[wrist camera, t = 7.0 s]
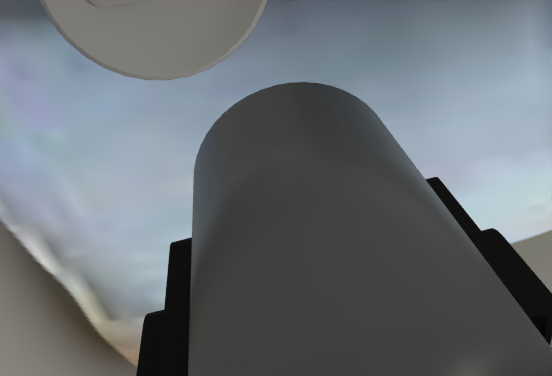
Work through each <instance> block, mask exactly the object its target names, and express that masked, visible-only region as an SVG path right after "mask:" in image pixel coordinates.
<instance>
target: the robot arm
mask: <svg viewBox="0 0 552 376" xmlns="http://www.w3.org/2000/svg"><path fill="white" fill-rule="evenodd" d="M425 180H426V181H427V182H428V184H429V185H430V186H431V188H432V189H433V190H434V192H435V193H436V194H437V196H438V197H439V198H440V200H441V201H442V202H443V204H444V205H445V206H446V208H447V209H448V210H449V212H450V213H451V215H452V216H453V217H454V219H455V220H456V221H457V223H458V224H459V225H460V227H461V228H462V229H463V231H464V232H465V233H466V235H467V236H468V237H469V239H470V240H471V241H472V243H473V244H474V245H475V247H476V248H477V249H478V251H479V252H480V253H481V255H482V256H483V257H484V259H485V260H486V261H487V263H488V264H489V265H490V267H491V268H492V269H493V271H494V272H495V273H496V275H497V276H498V277H499V279H500V280H501V281H502V283H503V284H504V285H505V287H506V288H507V289H508V291H509V292H510V293H511V295H512V296H513V297H514V299H515V300H516V301H517V303H518V304H519V305H520V307H521V308H522V309H523V311H524V312H525V313H526V315H527V316H528V317H529V319H530V320H531V321H532V323H533V324H534V325H535V327H536V328H537V329H538V331H539V332H540V333H541V335H542V336H543V337H544V339H545V340H546V341H547V343H548V344H549V345H550V347H551V348H552V293H551V292H550V291H549V290H548V289H547V287H546V286H545V285H544V284H543V283H542V281H541V280H540V279H539V278H538V277H537V276H536V275H535V273H534V272H533V271H532V270H531V269H530V267H529V266H528V265H527V264H526V263H525V262H524V260H523V259H522V258H521V257H520V256H519V254H518V253H517V252H516V251H515V250H514V249H513V247H512V246H511V245H510V244H509V243H508V242H507V240H506V239H505V238H504V237H503V236H502V234H500V233H499V232H498V231H497V230H496V229H493V228H491V229H487V230H483V231H481V230H480V229H479V228H478V226H477V225H476V224H475V223H474V221H473V220H472V219H471V218H470V216H469V215H468V214H467V213H466V211H465V210H464V209H463V208H462V206H461V205H460V204H459V203H458V201H457V200H456V199H455V198H454V196H453V195H452V194H451V193H450V191H449V190H448V189H447V188H446V186H445V185H444V184H443V183H442V181H441V180H440V179H439V178H438V177H433V178H429V179H425ZM191 255H192V238H188V239H184V240H180V241H176V242H172V243H171V245H170V253H169V264H168V275H167V286H166V297H165V309H164V310H161V311H157V312H153V313H148V314H147V315H146V316H145V319H144V323H143V330H142V338H141V345H140V352H139V360H138V367H137V375H136V376H188V361H189V325H190V290H191Z"/></svg>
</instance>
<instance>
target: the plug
mask: <svg viewBox="0 0 552 376" xmlns="http://www.w3.org/2000/svg"><path fill="white" fill-rule="evenodd" d="M188 376H552V348H551V347H550V345H549V344H548V343H547V341H546V340H545V339H544V337H543V336H542V335H541V333H540V332H539V331H538V329H537V328H536V327H535V325H534V324H533V323H532V321H531V320H530V319H529V317H528V316H527V315H526V313H525V312H524V311H523V309H522V308H521V307H520V305H519V304H518V303H517V301H516V300H515V299H514V297H513V296H512V295H511V293H510V292H509V291H508V289H507V288H506V287H505V285H504V284H503V283H502V281H501V280H500V279H499V277H498V276H497V275H496V273H495V272H494V271H493V269H492V268H491V267H490V265H489V264H488V263H487V261H486V260H485V259H484V257H483V256H482V255H481V253H480V252H479V251H478V249H477V248H476V247H475V245H474V244H473V243H472V241H471V240H470V239H469V237H468V236H467V235H466V233H465V232H464V231H463V229H462V228H461V227H460V225H459V224H458V223H457V221H456V220H455V219H454V217H453V216H452V215H451V213H450V212H449V210H448V209H447V208H446V206H445V205H444V204H443V202H442V201H441V200H440V198H439V197H438V196H437V194H436V193H435V192H434V190H433V189H432V188H431V186H430V185H429V184H428V182H427V181H426V180H425V178H424V177H423V176H422V174H421V173H420V172H419V170H418V169H417V168H416V166H415V165H414V164H413V162H412V161H411V160H410V158H409V157H408V156H407V154H406V153H405V152H404V150H403V149H402V148H401V146H400V145H399V144H398V142H397V141H396V140H395V138H394V137H393V136H392V134H391V133H390V132H389V130H388V129H387V128H386V126H385V125H384V124H383V122H382V121H381V120H380V118H379V117H378V116H377V114H376V113H375V112H374V111H373V110H372V109H371V108H370V107H369V106H368V105H367V104H366V103H364V102H363V101H361V100H360V99H359V98H357V97H356V96H354V95H352V94H350V93H348V92H346V91H344V90H341V89H338V88H336V87H333V86H329V85H324V84H319V83H308V82H298V83H286V84H281V85H275V86H272V87H269V88H266V89H262V90H260V91H258V92H255V93H253V94H251V95H249V96H247V97H245V98H244V99H242V100H240V101H239V102H237V103H236V104H234V105H233V106H232V107H231V108H229V109H228V110H227V111H226V112H225V113H224V114H223V115H222V116H221V117H220V118H219V119H218V120H217V121H216V122H215V123H214V125H213V126H212V127H211V129H210V130H209V131H208V133H207V134H206V136H205V138H204V140H203V142H202V144H201V146H200V149H199V152H198V155H197V157H196V162H195V168H194V185H193V220H192V255H191V290H190V325H189V361H188Z"/></svg>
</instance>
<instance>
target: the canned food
mask: <svg viewBox="0 0 552 376" xmlns="http://www.w3.org/2000/svg"><path fill="white" fill-rule="evenodd" d="M39 1H40V3H41V5H42V6H43V8H44V10H45V12H46V14H47V15H48V17H49V19H50V21H51V22H52V24H53V25H54V26H55V27H56V29H57V30H58V31H59V32H60V33H61V35H62V36H63V37H64V38H65V40H66V41H67V42H69V43H70V44H71V45H72V46H73V47H74V48H76V49H77V50H78V51H79V52H80V53H81V54H82V55H84V56H85V57H87V58H88V59H90V60H92V61H93V62H95V63H97V64H98V65H100V66H102V67H103V68H106V69H108V70H111V71H114V72H116V73H119V74H122V75H124V76H129V77H134V78H139V79H145V80H171V79H177V78H182V77H188V76H191V75H194V74H196V73H199V72H202V71H204V70H207V69H209V68H211V67H213V66H214V65H216V64H217V63H219V62H221V61H222V60H224V59H226V58H227V57H228V56H229V55H231V54H232V53H233V52H234V51H235V50H236V49H237V48H238V47H239V46H240V45H241V44H243V42H244V41H245V40H246V38H247V37H248V36H249V34H250V33H251V32H252V30H253V29H254V28H255V26H256V25H257V23H258V21H259V18H260V16H261V14H262V12H263V10H264V8H265V6H266V3H267V0H39Z"/></svg>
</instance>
